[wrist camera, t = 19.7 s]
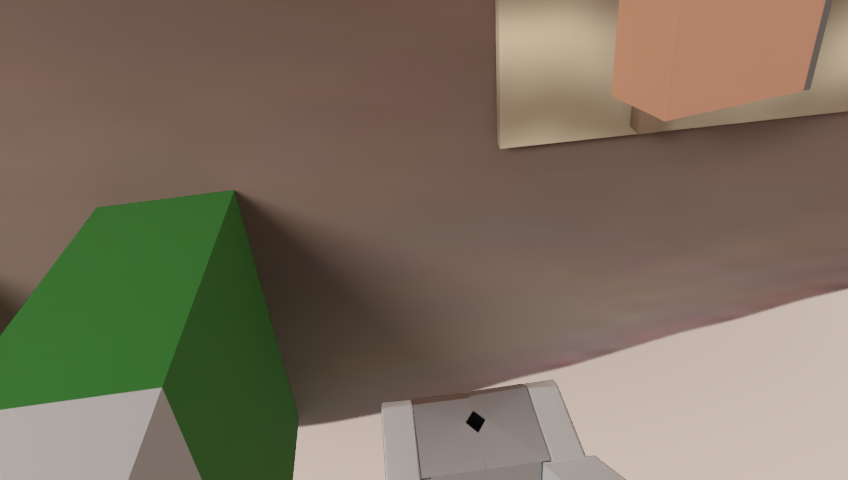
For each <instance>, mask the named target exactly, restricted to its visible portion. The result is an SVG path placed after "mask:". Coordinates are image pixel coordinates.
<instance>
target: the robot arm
mask: <svg viewBox="0 0 848 480" xmlns="http://www.w3.org/2000/svg"><path fill="white" fill-rule="evenodd" d="M412 406H413V410H412ZM381 413H382V428H383V443H384V457H385V475H386V480H626V479H625V478H623V477H622V476H621V475H619V474H618V473H617V472H615V471H614V470H613V469H611V468H610V467H609V466H607V465H606V464H605V463H603V462H602V461H601V460H600V459H598V458H597V457H596V456H587V457H586V456H585V453H584V451H583V448H582V446H581V443H580V441H579V438H578V436H577V433H576V431H575V428H574V426H573V423H572V421H571V418H570V416H569V413H568V411H567V408H566V406H565V404H564V401H563V398H562V396H561V393H560V391H559V388H558V386H557V384H556V383H555V382H554V381H553V380H548V381H541V382H534V383H527V384H524V385H523V384H518V385H512V386H505V387H498V388H491V389H485V390H478V391H471V392H468V393H460V394H451V395H442V396H433V397H424V398H415V399H412V403H411V399H410V400H401V401H393V402H384V403H382V409H381ZM413 414H414V417H413ZM414 423H415V425H414ZM415 431H416V432H415Z"/></svg>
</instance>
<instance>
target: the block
mask: <svg viewBox="0 0 848 480" xmlns="http://www.w3.org/2000/svg"><path fill="white" fill-rule="evenodd" d="M832 1H833V0H619V9H618V21H617V33H616V45H615V57H614V69H613V81H612V93H611V96H613V97H615V98H617V99H619V100H621V101H623V102H625V103H627V104H629V105H632V106H634V107H636V108H638V109H640V110H642V111H644V112H646V113H648V114H650V115H652V116H654V117H656V118H659V119H661V120H663V121H670V120H674V119H679V118H683V117H688V116H692V115H697V114H701V113H706V112H710V111H715V110H719V109H724V108H728V107H733V106H737V105H742V104H746V103H751V102H755V101H760V100H764V99H769V98H773V97H778V96H782V95H787V94H791V93H796V92H800V91H805V90H809V89H810V88H811V84H812V80H813V76H814V72H815V68H816V64H817V60H818V56H819V52H820V48H821V44H822V40H823V36H824V32H825V28H826V24H827V21H828V17H829V13H830V9H831V5H832Z"/></svg>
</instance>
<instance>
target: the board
mask: <svg viewBox="0 0 848 480" xmlns="http://www.w3.org/2000/svg"><path fill="white" fill-rule="evenodd" d="M495 6H496V82H497V144H498V146H499V147H500V149H504V148H513V147H523V146H532V145H541V144H550V143H560V142H569V141H578V140H587V139H597V138H606V137H615V136H624V135H633V134H647V133H656V132H661V131H670V130H680V129H689V128H698V127H707V126H717V125H726V124H735V123H744V122H753V121H763V120H772V119H781V118H790V117H800V116H809V115H818V114H827V113H837V112H846V111H848V0H833V1H832V5H831V9H830V13H829V17H828V21H827V24H826V28H825V32H824V36H823V40H822V44H821V48H820V52H819V56H818V60H817V64H816V68H815V72H814V76H813V80H812V84H811V88H810V89H809V90H805V91H800V92H796V93H791V94H787V95H782V96H778V97H773V98H769V99H764V100H760V101H755V102H751V103H746V104H742V105H737V106H733V107H728V108H724V109H719V110H715V111H710V112H706V113H701V114H697V115H692V116H688V117H683V118H679V119H674V120H670V121H663V120H661V119H659V118H656V117H654V116H652V115H650V114H648V113H646V112H644V111H642V110H640V109H638V108H636V107H634V106H632V105H629V104H627V103H625V102H623V101H621V100H619V99H617V98H615V97H613V96H611V93H612V81H613V69H614V57H615V45H616V33H617V21H618V9H619V0H495Z"/></svg>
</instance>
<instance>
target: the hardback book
mask: <svg viewBox="0 0 848 480" xmlns="http://www.w3.org/2000/svg"><path fill="white" fill-rule="evenodd" d="M298 419H299V417H298V414H297V410H296V407H295V403H294V400H293V396H292V393H291V389H290V386H289V382H288V379H287V375H286V371H285V368H284V364H283V361H282V357H281V354H280V350H279V347H278V343H277V340H276V336H275V333H274V329H273V325H272V322H271V318H270V315H269V311H268V308H267V304H266V301H265V297H264V294H263V290H262V287H261V283H260V279H259V276H258V272H257V269H256V265H255V262H254V258H253V255H252V251H251V248H250V244H249V241H248V237H247V233H246V230H245V226H244V223H243V219H242V216H241V212H240V209H239V205H238V202H237V198H236V195H235V191H234V190H232V191H224V192H216V193H208V194H200V195H193V196H185V197H177V198H169V199H161V200H153V201H146V202H138V203H130V204H122V205H114V206H106V207H98V208H96V209H95V210H94V212H93V213H92V214H91V216H90V217H89V218H88V220H87V221H86V222H85V224H84V225H83V226H82V228H81V229H80V230H79V232H78V233H77V234H76V236H75V237H74V238H73V240H72V241H71V242H70V244H69V245H68V246H67V248H66V249H65V250H64V252H63V253H62V254H61V256H60V257H59V258H58V260H57V261H56V262H55V264H54V265H53V266H52V268H51V269H50V270H49V272H48V273H47V274H46V276H45V277H44V278H43V280H42V281H41V282H40V284H39V285H38V286H37V288H36V289H35V290H34V292H33V293H32V294H31V296H30V297H29V298H28V300H27V301H26V302H25V303H24V305H23V306H22V307H21V309H20V310H19V311H18V313H17V314H16V315H15V317H14V318H13V319H12V321H11V322H10V323H9V325H8V326H7V327H6V329H5V330H4V331H3V333H2V334H1V335H0V480H293V470H294V460H295V449H296V440H297V429H298Z"/></svg>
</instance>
